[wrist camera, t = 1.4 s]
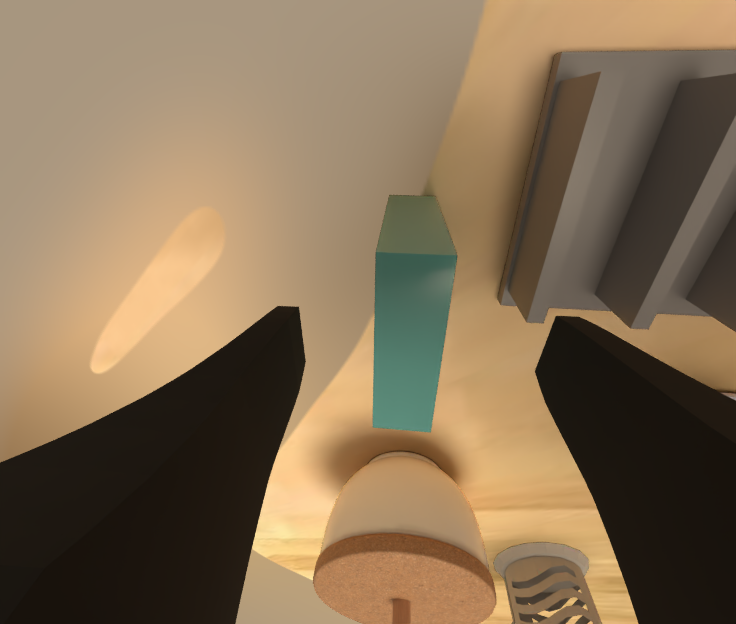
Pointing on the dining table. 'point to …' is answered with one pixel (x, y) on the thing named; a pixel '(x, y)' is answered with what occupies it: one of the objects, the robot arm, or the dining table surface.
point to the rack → (630, 189)
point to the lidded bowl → (404, 548)
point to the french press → (546, 583)
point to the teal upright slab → (410, 311)
